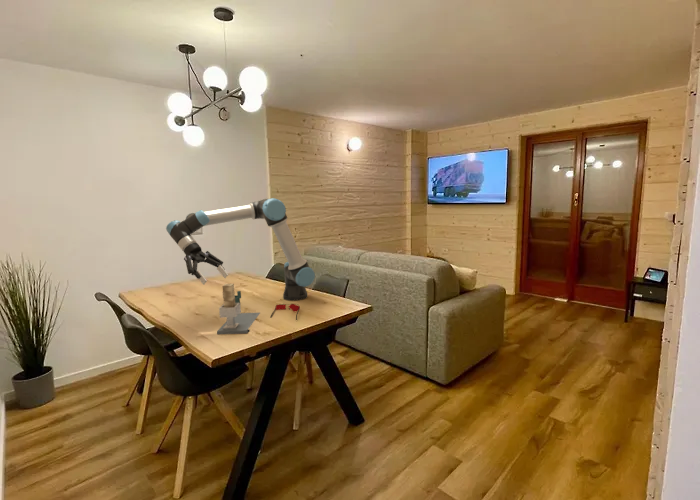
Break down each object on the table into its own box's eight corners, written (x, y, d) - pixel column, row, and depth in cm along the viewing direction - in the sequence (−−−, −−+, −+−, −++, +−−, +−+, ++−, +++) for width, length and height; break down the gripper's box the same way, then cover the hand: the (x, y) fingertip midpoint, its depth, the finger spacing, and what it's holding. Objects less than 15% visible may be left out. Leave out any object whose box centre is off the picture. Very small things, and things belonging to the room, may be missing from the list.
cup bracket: (241, 323, 175) (240, 302, 173) (237, 329, 167) (235, 307, 166) (226, 324, 175) (224, 303, 173) (220, 329, 167) (218, 307, 166)
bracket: (242, 306, 210) (241, 291, 209) (226, 308, 205) (225, 293, 204) (238, 302, 217) (237, 288, 216) (223, 305, 213) (221, 290, 212)
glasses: (300, 311, 197) (300, 302, 196) (296, 322, 181) (296, 312, 180) (275, 312, 197) (274, 303, 196) (269, 322, 181) (268, 313, 180)
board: (260, 315, 192) (260, 312, 192) (247, 333, 166) (247, 330, 166) (234, 316, 192) (234, 313, 191) (217, 334, 166) (216, 331, 166)
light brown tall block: (236, 311, 172) (233, 283, 170) (233, 314, 168) (230, 285, 166) (227, 312, 172) (225, 283, 170) (224, 314, 168) (222, 285, 166)
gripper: (206, 248, 187) (230, 278, 183) (164, 256, 164) (191, 290, 160) (213, 238, 184) (238, 269, 180) (171, 245, 161) (199, 280, 157)
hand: (216, 279), depth 170 cm, fingers open, 13 cm apart
